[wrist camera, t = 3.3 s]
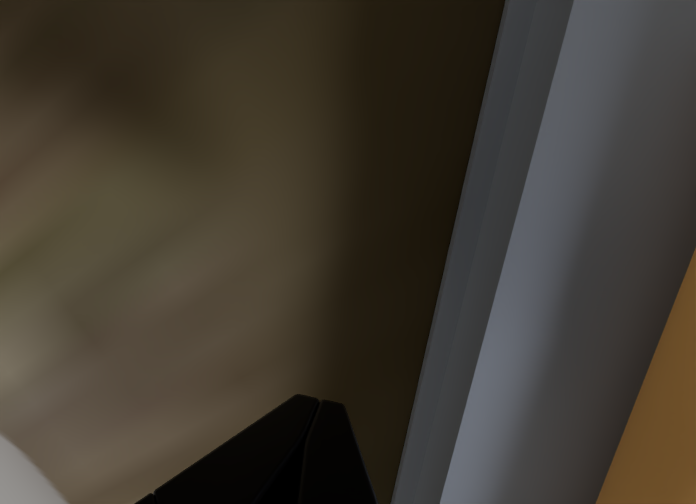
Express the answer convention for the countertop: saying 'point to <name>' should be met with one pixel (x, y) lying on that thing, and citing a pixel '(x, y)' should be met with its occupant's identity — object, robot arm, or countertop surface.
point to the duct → (559, 254)
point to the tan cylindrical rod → (662, 418)
